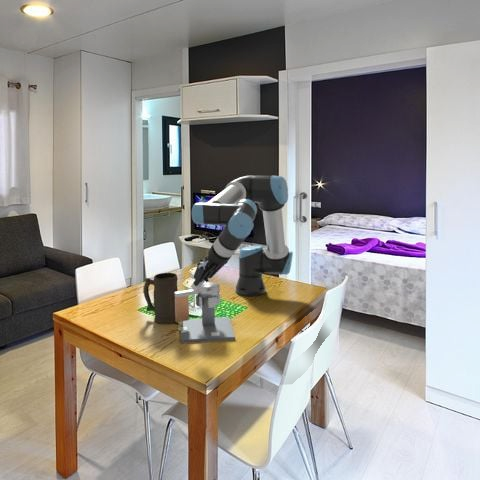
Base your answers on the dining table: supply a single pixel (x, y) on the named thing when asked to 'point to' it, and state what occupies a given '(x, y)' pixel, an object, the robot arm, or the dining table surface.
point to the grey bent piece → (205, 291)
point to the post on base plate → (206, 327)
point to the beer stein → (162, 297)
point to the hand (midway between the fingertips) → (194, 288)
